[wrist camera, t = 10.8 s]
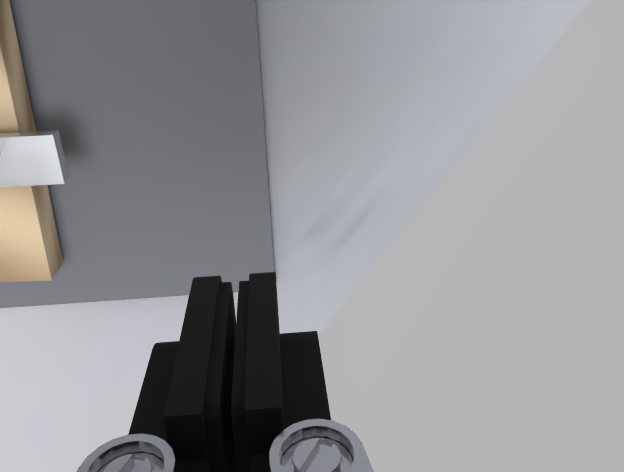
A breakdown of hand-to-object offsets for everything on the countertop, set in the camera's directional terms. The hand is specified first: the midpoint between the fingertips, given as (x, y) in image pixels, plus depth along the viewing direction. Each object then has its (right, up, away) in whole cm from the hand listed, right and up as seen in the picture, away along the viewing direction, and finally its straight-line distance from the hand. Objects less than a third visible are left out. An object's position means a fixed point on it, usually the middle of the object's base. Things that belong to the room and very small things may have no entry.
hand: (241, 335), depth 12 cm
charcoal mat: (-10, +8, +19) cm, 23 cm away
